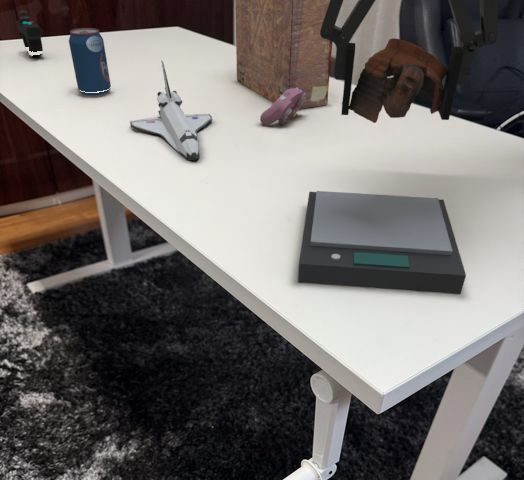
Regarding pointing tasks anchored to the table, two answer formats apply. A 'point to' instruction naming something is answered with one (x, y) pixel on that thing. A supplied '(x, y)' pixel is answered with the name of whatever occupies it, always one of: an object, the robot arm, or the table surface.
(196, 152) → the space shuttle model
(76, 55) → the soda can
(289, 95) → the video game controller
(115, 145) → the table surface
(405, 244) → the scale
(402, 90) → the brown hollow arched part
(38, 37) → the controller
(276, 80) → the book
